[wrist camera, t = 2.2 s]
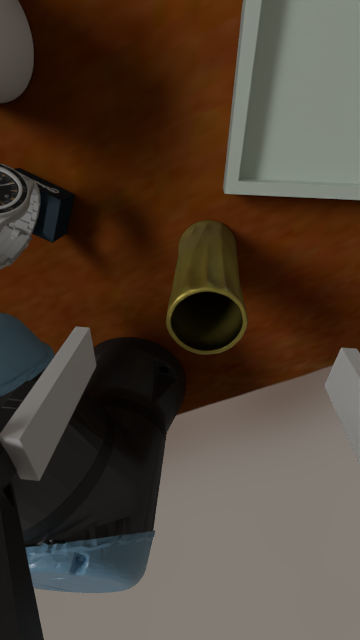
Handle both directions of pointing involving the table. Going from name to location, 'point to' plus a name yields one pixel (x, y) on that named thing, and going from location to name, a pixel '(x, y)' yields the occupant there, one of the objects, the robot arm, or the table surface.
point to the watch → (29, 211)
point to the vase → (207, 291)
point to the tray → (296, 101)
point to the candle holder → (14, 51)
